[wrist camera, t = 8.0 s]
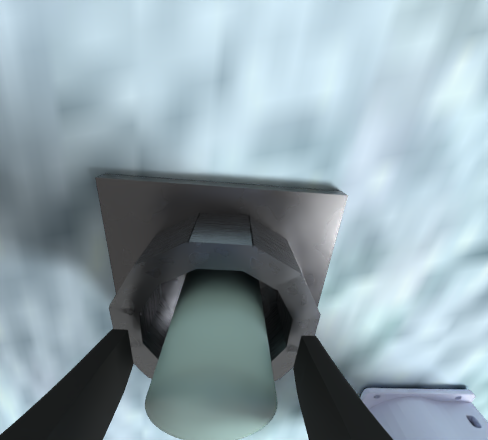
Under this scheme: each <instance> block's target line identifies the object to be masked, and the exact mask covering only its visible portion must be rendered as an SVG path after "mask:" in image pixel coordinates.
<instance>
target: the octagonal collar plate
mask: <svg viewBox="0 0 488 440" xmlns="http://www.w3.org/2000/svg"><path fill="white" fill-rule="evenodd" d="M95 178H96V184H97V189H98V195H99V201H100V206H101V212H102V217H103V223H104V229H105V234H106V240H107V245H108V251H109V257H110V262H111V268H112V273H113V279H114V285H115V290H116V296H115V297H114V299H113V301H112V302H111V304H110V306H109V310H110V315H111V320H112V325H113V329H124V330H128V333H129V339H130V345H131V351H132V357H133V363H134V364H135V365H136V366H137V367H138V368H139V369H140V370H141V371H142V372H143V373H144V374H145V375H146V376H147V377H148V376H149V378H151V379H152V378H153V375H154V372H155V369H156V366H157V362H158V359H159V356H160V353H161V350H162V347H163V344H164V341H165V338H166V335H167V332H168V329H169V326H170V322H171V319H172V316H173V313H174V310H175V307H176V304H177V301H178V298H179V295H180V292H181V289H182V286H183V283H184V279H185V277H186V275H187V273H188V272H190V271H192V270H195V269H212V270H233V271H243V272H245V273H247V274H249V275H251V276H252V277H254V278H256V279H258V280H259V284H260V291H261V297H262V304H263V311H264V317H265V324H266V331H267V337H268V344H269V351H270V357H271V364H272V371H273V377H274V381H276V380H278V379H280V378H281V377H282V376H284V375H285V374H286V373H287V372H288V371H289V370H290V369H292V368H293V367H294V363H295V359H296V355H297V351H298V347H299V343H300V339H301V335H303V336H315V332H316V329H317V325H318V322H319V318H320V313H319V311H318V308H317V307H318V303H319V299H320V296H321V292H322V289H323V285H324V281H325V278H326V274H327V270H328V267H329V263H330V259H331V256H332V252H333V248H334V245H335V241H336V238H337V234H338V230H339V227H340V223H341V219H342V216H343V212H344V208H345V205H346V201H347V197H348V195H346V194H345V193H343V192H342V191H334V190H320V189H306V188H292V187H279V186H265V185H251V184H237V183H224V182H210V181H196V180H183V179H169V178H155V177H141V176H128V175H114V174H103V175H100V176H98V177H95Z"/></svg>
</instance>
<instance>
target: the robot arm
mask: <svg viewBox="0 0 488 440" xmlns="http://www.w3.org/2000/svg"><path fill="white" fill-rule="evenodd" d="M133 364H134V363H133V357H132V351H131V345H130V339H129V333H128V330H124V329H112V330H111V331H110V332H109V333H108V334H107V335H106V336H105V337H104V338H103V339H102V340H101V341H100V342H99V343H98V344H97V345H96V346H95V347H94V348H93V349H92V350H91V351H90V352H89V353H88V354H87V355H86V356H85V357H84V358H83V359H82V360H81V361H80V362H79V363H78V364H77V365H76V366H75V367H74V368H73V369H72V370H71V371H70V372H69V373H68V374H67V375H66V376H65V377H64V378H63V379H62V380H60V381H59V382H58V383H57V384H56V385H55V386H54V387H53V388H52V389H51V390H50V391H49V392H48V393H47V394H46V395H44V396H43V397H42V398H41V399H40V400H39V401H38V402H37V403H36V404H35V405H33V406H32V407H31V408H30V409H29V410H28V411H27V412H26V413H25V414H24V415H22V416H21V417H20V418H19V419H18V420H17V421H16V422H15V423H13V424H12V425H11V426H10V427H9V428H8V429H6V430H5V431H4V432H3V433H2V434H1V435H0V440H103V438H104V436H105V434H106V431H107V429H108V427H109V425H110V422H111V420H112V418H113V416H114V413H115V411H116V409H117V407H118V404H119V402H120V400H121V398H122V395H123V393H124V390H125V387H126V385H127V382H128V379H129V376H130V373H131V370H132V367H133ZM293 369H294V375H295V382H296V388H297V394H298V399H299V403H300V407H301V411H302V414H303V418H304V422H305V426H306V430H307V434H308V438H309V440H488V422H487V420H486V419H485V418H484V417H483V416H482V414H481V413H480V412H479V411H478V410H477V409H476V407H475V406H474V405H473V404H472V403H471V402H472V401H473V400H474V398H475V394H474V393H473V392H472V391H471V390H465V389H407V388H367V389H365V390H364V391H363V392H362V395H361V397H360V398H359V396H358V395H357V394H356V392H355V391H354V390H353V388H352V387H351V386H350V384H349V383H348V382H347V380H346V379H345V377H344V376H343V375H342V373H341V372H340V370H339V369H338V368H337V366H336V365H335V363H334V362H333V360H332V359H331V358H330V356H329V355H328V353H327V352H326V350H325V349H324V347H323V346H322V344H321V343H320V341H319V340H318V338H317V337H316V336H303V335H301V339H300V343H299V347H298V351H297V355H296V359H295V363H294V367H293Z"/></svg>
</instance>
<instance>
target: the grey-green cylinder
mask: <svg viewBox="0 0 488 440" xmlns="http://www.w3.org/2000/svg"><path fill="white" fill-rule="evenodd" d="M145 409H146V413H147V415H148V417H149V419H150V420H151V421H152V423H153V424H154V425H155V426H156V427H158V428H159V429H160V430H162V431H164V432H165V433H167V434H169V435H171V436H174V437H176V438H179V439H183V440H238V439H241V438H244V437H247V436H250V435H252V434H254V433H256V432H258V431H259V430H261V429H262V428H263V427H265V426H266V425H267V424H268V423H269V422H270V421H271V420H272V418H273V416H274V415H275V412H276V409H277V397H276V391H275V384H274V377H273V371H272V364H271V357H270V351H269V344H268V337H267V331H266V324H265V317H264V311H263V304H262V297H261V291H260V284H259V280H258V279H256V278H254V277H252V276H251V275H249V274H247V273H245V272H243V271H233V270H212V269H195V270H192V271H190V272H188V273H187V275H186V277H185V279H184V283H183V286H182V289H181V292H180V295H179V298H178V301H177V304H176V307H175V310H174V313H173V316H172V319H171V322H170V326H169V329H168V332H167V335H166V338H165V341H164V344H163V347H162V350H161V353H160V356H159V359H158V362H157V366H156V369H155V372H154V375H153V378H152V381H151V384H150V387H149V390H148V393H147V396H146V400H145Z"/></svg>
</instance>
